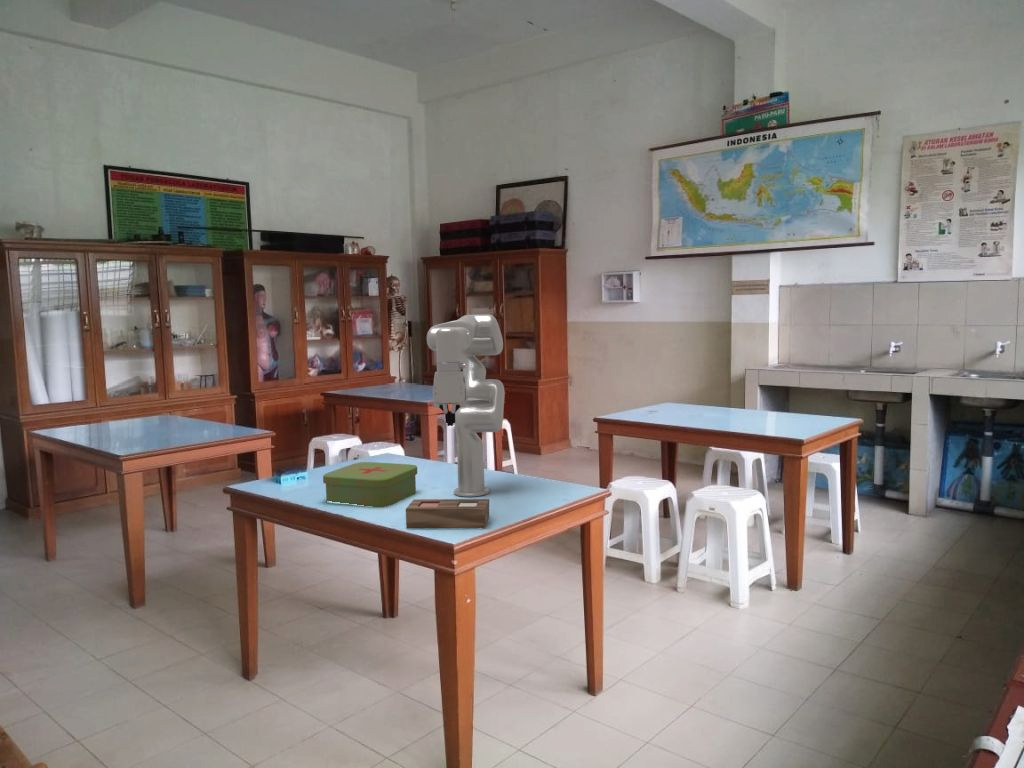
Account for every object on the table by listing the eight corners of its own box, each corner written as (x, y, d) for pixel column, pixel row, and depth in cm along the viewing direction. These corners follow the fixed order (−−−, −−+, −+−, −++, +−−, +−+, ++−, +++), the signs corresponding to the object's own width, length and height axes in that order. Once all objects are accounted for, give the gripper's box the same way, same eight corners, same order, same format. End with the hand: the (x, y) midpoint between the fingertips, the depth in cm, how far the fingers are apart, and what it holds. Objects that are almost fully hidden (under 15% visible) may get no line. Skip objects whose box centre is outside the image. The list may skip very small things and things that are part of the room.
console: (414, 517, 241) (413, 499, 240) (489, 517, 239) (489, 499, 238) (406, 528, 229) (405, 509, 228) (485, 528, 227) (484, 508, 226)
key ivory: (460, 517, 236) (460, 503, 236) (477, 517, 236) (477, 503, 235) (458, 522, 231) (457, 507, 230) (475, 522, 230) (475, 507, 230)
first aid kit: (360, 487, 287) (359, 461, 286) (422, 491, 278) (421, 464, 277) (319, 503, 263) (318, 475, 262) (385, 509, 253) (384, 480, 252)
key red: (422, 517, 237) (422, 503, 237) (439, 517, 237) (439, 503, 236) (419, 522, 232) (418, 507, 231) (436, 522, 231) (436, 507, 231)
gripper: (473, 366, 242) (475, 423, 243) (427, 367, 243) (429, 424, 244) (470, 368, 234) (472, 427, 236) (423, 369, 235) (425, 427, 237)
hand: (450, 425), depth 240 cm, fingers closed
